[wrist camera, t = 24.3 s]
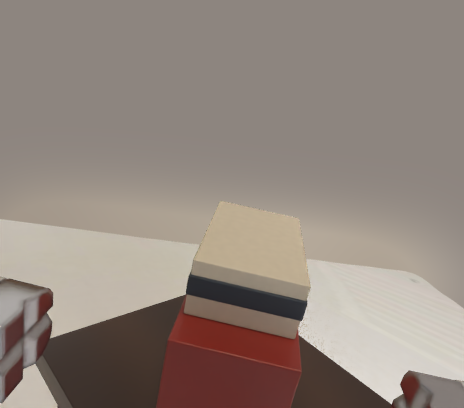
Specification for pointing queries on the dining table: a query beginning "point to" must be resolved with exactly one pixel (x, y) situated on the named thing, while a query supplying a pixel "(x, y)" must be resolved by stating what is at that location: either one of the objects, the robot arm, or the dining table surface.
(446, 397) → the robot arm
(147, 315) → the cabinet
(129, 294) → the dining table surface
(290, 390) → the car
